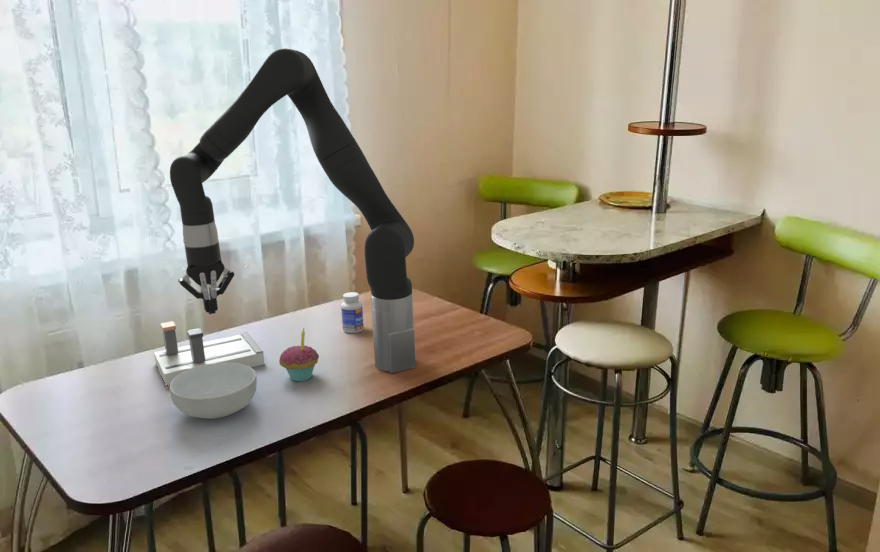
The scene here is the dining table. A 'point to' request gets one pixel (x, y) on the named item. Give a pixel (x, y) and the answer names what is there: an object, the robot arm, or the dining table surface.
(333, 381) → the dining table surface
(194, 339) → the black fader
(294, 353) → the cupcake
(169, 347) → the terracotta fader
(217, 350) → the console
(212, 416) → the cereal bowl
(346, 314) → the pill bottle
